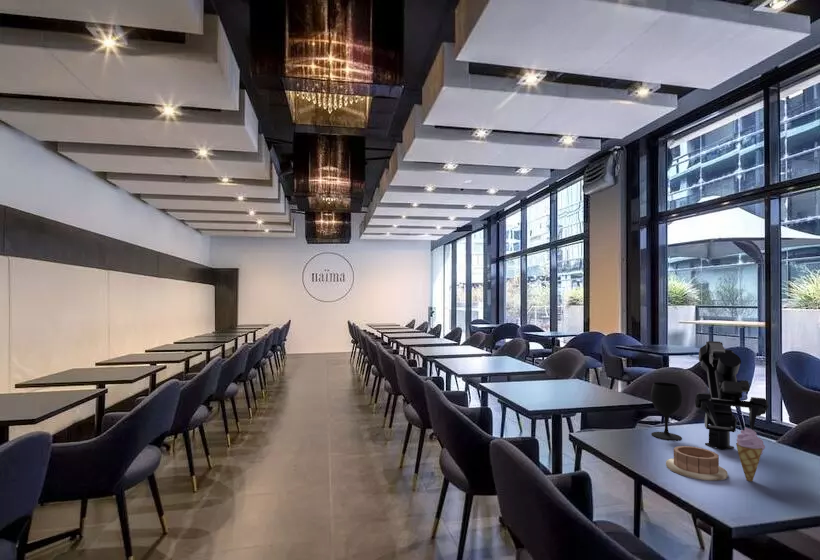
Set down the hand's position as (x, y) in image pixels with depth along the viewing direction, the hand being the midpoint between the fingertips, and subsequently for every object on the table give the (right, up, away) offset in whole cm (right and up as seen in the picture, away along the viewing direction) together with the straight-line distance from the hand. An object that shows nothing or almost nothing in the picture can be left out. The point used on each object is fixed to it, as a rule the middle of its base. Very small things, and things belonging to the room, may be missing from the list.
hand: (734, 427), depth 141 cm
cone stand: (-12, -13, -1) cm, 18 cm away
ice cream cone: (-1, -13, -8) cm, 15 cm away
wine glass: (-2, -15, +34) cm, 37 cm away
